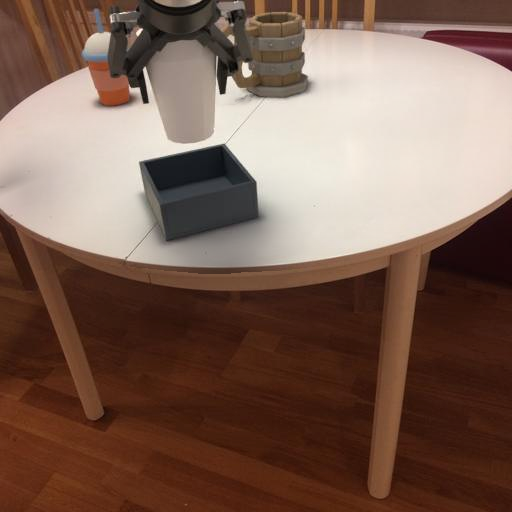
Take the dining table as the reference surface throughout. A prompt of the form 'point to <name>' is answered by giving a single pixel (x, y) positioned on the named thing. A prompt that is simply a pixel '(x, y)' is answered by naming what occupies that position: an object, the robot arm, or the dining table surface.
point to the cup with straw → (104, 68)
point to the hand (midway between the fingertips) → (183, 89)
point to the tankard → (273, 55)
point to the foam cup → (184, 89)
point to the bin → (199, 190)
